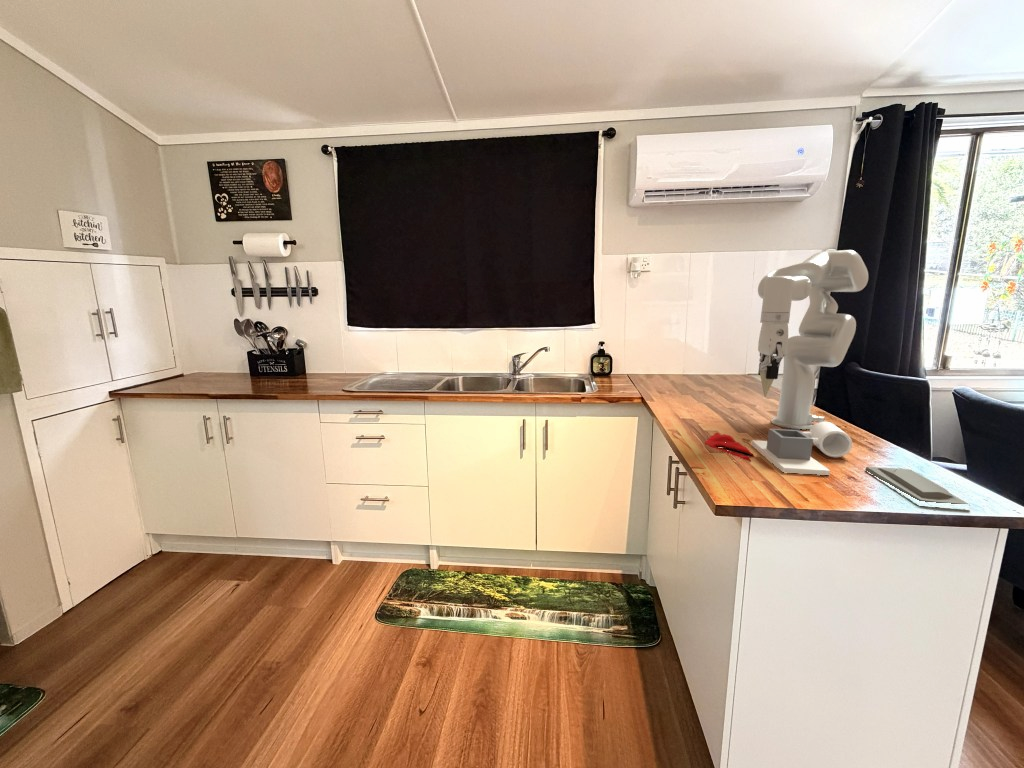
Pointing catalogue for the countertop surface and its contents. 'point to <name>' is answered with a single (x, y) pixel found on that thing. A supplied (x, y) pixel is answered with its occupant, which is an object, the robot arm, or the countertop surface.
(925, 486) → the soap mold
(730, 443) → the red lips
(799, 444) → the box socket base
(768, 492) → the countertop surface
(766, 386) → the ice cream cone
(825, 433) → the mug
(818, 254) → the robot arm
